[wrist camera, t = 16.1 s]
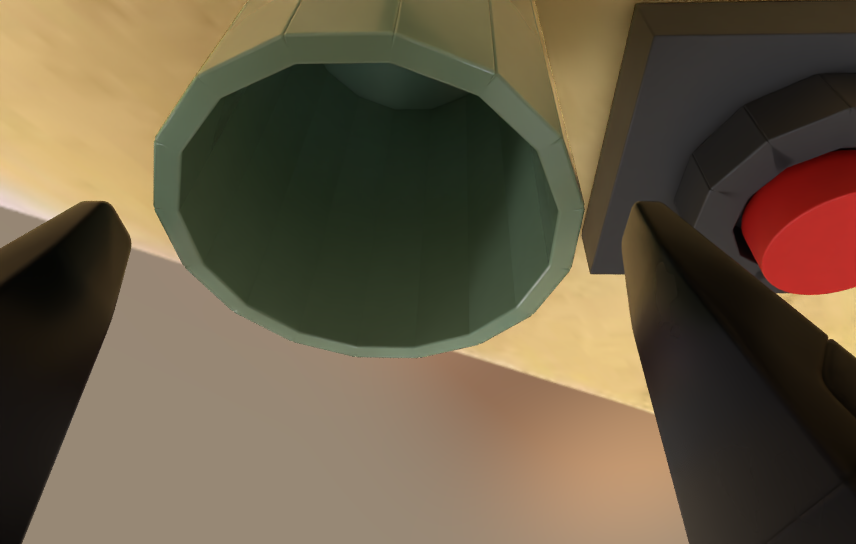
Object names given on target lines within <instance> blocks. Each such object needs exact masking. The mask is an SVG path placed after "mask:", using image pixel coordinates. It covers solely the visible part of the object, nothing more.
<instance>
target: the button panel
mask: <svg viewBox="0 0 856 544" xmlns="http://www.w3.org/2000/svg"><path fill="white" fill-rule="evenodd" d="M838 150H856V0H823V1H762V2H702V3H641V4H636V5H635V9H634V13H633V18H632V22H631V26H630V30H629V35H628V39H627V43H626V47H625V52H624V56H623V60H622V64H621V69H620V73H619V77H618V82H617V86H616V90H615V94H614V99H613V103H612V107H611V111H610V116H609V120H608V124H607V128H606V133H605V137H604V141H603V146H602V150H601V154H600V158H599V163H598V167H597V171H596V175H595V180H594V184H593V188H592V192H591V197H590V201H589V205H588V210H587V214H586V218H585V222H584V227H583V231H582V240H583V244H584V248H585V253H586V257H587V262H588V266H589V271H590V274H625V271H624V264H623V256H622V239H623V235H624V232H625V228H626V225H627V222H628V219H629V215H630V212H631V209H632V207H633V205H634V204H635V203H636V202H638V201H660V202H662V203H664V204H665V205H667V206H668V207H669V208H670V209H671V210H673V211H674V212H675V213H676V214H678V215H679V216H680V217H681V218H683V219H684V220H685V221H686V222H688V223H689V224H690V225H691V226H693V227H694V228H695V229H696V230H698V231H699V232H700V233H701V234H703V235H704V236H705V237H706V238H707V239H709V240H710V241H711V242H712V243H714V244H715V245H716V246H717V247H719V248H720V249H721V250H722V251H724V252H725V253H726V254H727V255H729V256H730V257H731V258H732V259H734V260H735V261H736V262H737V263H739V264H740V265H741V266H742V267H743V268H745V269H746V270H747V271H748V272H750V273H751V274H752V275H753V276H755V277H756V278H757V279H758V280H760V281H761V282H762V283H763V284H765V285H766V286H767V287H768V288H770V289H771V290H772V291H773V292H775V293H789V292H785V291H783V290H780V289H778V288H776V287H775V286H773V285H772V284H771V283H769V282H768V281H767V279H766V278H765V277H764V275H763V273H762V271H761V269H760V267H759V265H758V263H757V262H756V260H755V258H754V256H753V254H752V252H751V250H750V248H749V246H748V244H747V242H746V241H745V239H744V236H743V234H742V230H741V220H742V216H743V212H744V210H745V208H746V206H747V204H748V202H749V201H750V199H751V198H752V196H753V195H754V194H755V193H756V192H757V191H758V190H760V189H761V188H762V187H763V186H765V185H766V184H767V183H768V182H770V181H771V180H772V179H773V178H775V177H776V176H777V175H778V174H780V173H781V172H782V171H784V170H785V169H786V168H788V167H791V166H794V165H796V164H799V163H802V162H804V161H807V160H810V159H812V158H815V157H818V156H821V155H823V154H826V153H829V152H831V151H838Z"/></svg>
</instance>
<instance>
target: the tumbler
mask: <svg viewBox="0 0 856 544" xmlns="http://www.w3.org/2000/svg"><path fill="white" fill-rule="evenodd" d="M154 207H155V212H156V214H157V216H158V218H159V220H160V221H161V223H162V225H163V227H164V229H165V231H166V233H167V235H168V237H169V239H170V241H171V243H172V245H173V247H174V249H175V251H176V253H177V254H178V256H179V258H180V260H181V262H182V264H183V265H184V266H185V268H186V269H187V270H188V271H189V272H190V273H191V274H192V275H193V276H194V277H196V278H197V279H198V280H199V281H200V282H201V283H202V284H203V285H204V286H205V287H206V288H208V289H209V290H210V291H211V292H212V293H213V294H214V295H215V296H216V297H217V298H218V299H220V300H221V301H222V302H223V303H224V304H225V305H226V306H227V307H228V308H230V309H231V310H232V311H234V312H235V313H236V314H238V315H240V316H243V317H244V318H246V319H248V320H250V321H252V322H254V323H256V324H258V325H260V326H262V327H264V328H266V329H268V330H270V331H272V332H274V333H276V334H278V335H280V336H282V337H284V338H286V339H288V340H289V341H293V342H295V343H299V344H303V345H308V346H312V347H316V348H320V349H324V350H328V351H332V352H336V353H341V354H345V355H349V356H353V357H355V356H356V357H379V358H418V357H420V358H422V357H427V356H431V355H435V354H440V353H444V352H449V351H453V350H457V349H462V348H466V347H471V346H475V345H478V344H481V343H483V342H485V341H487V340H489V339H491V338H492V337H494V336H496V335H498V334H500V333H501V332H503V331H505V330H507V329H509V328H510V327H512V326H514V325H516V324H518V323H519V322H521V321H523V320H525V319H527V318H528V317H530V316H531V315H532V314H534V313H535V312H536V310H537V309H538V308H539V307H540V306H541V304H542V303H543V302H544V301H545V300H546V298H547V297H548V296H549V295H550V294H551V292H552V291H553V290H554V289H555V288H556V287H557V285H558V284H559V283H560V282H561V281H562V279H563V278H564V277H565V276H566V275H567V273H568V272H569V271H570V268H571V267H572V263H573V258H574V254H575V250H576V245H577V241H578V236H579V232H580V228H581V223H582V219H583V214H584V210H585V209H584V201H583V197H582V192H581V188H580V184H579V180H578V176H577V172H576V168H575V164H574V160H573V155H572V151H571V147H570V143H569V139H568V135H567V131H566V127H565V123H564V118H563V114H562V110H561V106H560V102H559V98H558V94H557V90H556V86H555V81H554V77H553V73H552V69H551V65H550V61H549V57H548V53H547V49H546V44H545V40H544V36H543V32H542V28H541V24H540V20H539V16H538V12H537V7H536V3H535V0H248V1H247V3H246V4H245V5H244V7H243V8H242V10H241V11H240V13H239V14H238V15H237V17H236V18H235V20H234V21H233V23H232V24H231V25H230V27H229V28H228V30H227V31H226V33H225V34H224V35H223V37H222V38H221V40H220V41H219V43H218V44H217V45H216V47H215V48H214V50H213V51H212V53H211V54H210V55H209V57H208V58H207V60H206V61H205V63H204V64H203V65H202V67H201V68H200V70H199V71H198V73H197V74H196V75H195V77H194V78H193V80H192V81H191V83H190V85H189V86H188V88H187V89H186V91H185V92H184V94H183V95H182V97H181V98H180V100H179V101H178V103H177V104H176V106H175V107H174V109H173V110H172V112H171V113H170V115H169V116H168V118H167V119H166V121H165V122H164V124H163V125H162V127H161V128H160V130H159V132H158V133H157V135H156V136H155V140H154Z"/></svg>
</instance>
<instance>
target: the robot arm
mask: <svg viewBox="0 0 856 544" xmlns="http://www.w3.org/2000/svg"><path fill="white" fill-rule="evenodd" d="M130 251H131V239H130V235H129V233H128V232H127V230H126V228H125V226H124V225H123V223H122V221H121V220H120V218H119V216H118V214H117V213H116V211H115V209H114V208H113V206H112V205H111V204H109V203H108V202H105V201H83V202H80V203H78V204H77V205H75V206H73V207H71V208H70V209H68V210H66V211H64V212H63V213H61V214H59V215H57V216H56V217H54V218H52V219H50V220H49V221H47V222H45V223H44V224H42V225H40V226H38V227H37V228H35V229H33V230H31V231H30V232H28V233H26V234H24V235H23V236H21V237H19V238H17V239H16V240H14V241H12V242H10V243H9V244H7V245H5V246H3V247H2V248H0V544H22V542H23V539H24V537H25V534H26V532H27V530H28V527H29V525H30V522H31V519H32V517H33V515H34V512H35V509H36V507H37V504H38V502H39V500H40V497H41V495H42V492H43V490H44V487H45V485H46V482H47V480H48V477H49V475H50V472H51V470H52V467H53V465H54V463H55V460H56V457H57V455H58V453H59V450H60V447H61V445H62V443H63V440H64V438H65V435H66V433H67V430H68V428H69V425H70V423H71V420H72V418H73V415H74V413H75V410H76V408H77V405H78V403H79V400H80V398H81V395H82V393H83V390H84V388H85V386H86V383H87V381H88V378H89V375H90V373H91V371H92V368H93V366H94V363H95V361H96V358H97V356H98V353H99V350H100V348H101V346H102V343H103V341H104V338H105V336H106V333H107V330H108V328H109V325H110V322H111V320H112V316H113V313H114V310H115V306H116V303H117V299H118V295H119V292H120V288H121V284H122V280H123V277H124V273H125V269H126V266H127V262H128V258H129V255H130ZM622 256H623V264H624V271H625V279H626V287H627V294H628V302H629V310H630V317H631V323H632V329H633V333H634V337H635V341H636V345H637V349H638V353H639V356H640V360H641V364H642V368H643V372H644V375H645V379H646V383H647V387H648V390H649V394H650V398H651V402H652V405H653V409H654V413H655V417H656V420H657V424H658V428H659V432H660V436H661V439H662V443H663V447H664V451H665V454H666V457H667V462H668V466H669V469H670V473H671V477H672V480H673V485H674V488H675V492H676V496H677V500H678V503H679V507H680V511H681V515H682V518H683V521H684V526H685V530H686V533H687V537H688V541H689V544H856V357H854V356H853V355H852V354H851V353H849V352H848V351H847V350H846V349H844V348H843V347H842V346H841V345H839V344H838V343H837V342H836V341H834V340H833V339H829V340H828V335H827V334H825V333H824V332H823V331H822V330H820V329H819V328H818V327H817V326H815V325H814V324H813V323H812V322H811V321H809V320H808V319H807V318H806V317H804V316H803V315H802V314H801V313H799V312H798V311H797V310H796V309H794V308H793V307H792V306H791V305H789V304H788V303H787V302H786V301H784V300H783V299H782V298H781V297H779V296H778V295H777V294H776V293H775V292H773V291H772V290H771V289H770V288H768V287H767V286H766V285H765V284H763V283H762V282H761V281H760V280H758V279H757V278H756V277H755V276H753V275H752V274H751V273H750V272H748V271H747V270H746V269H745V268H743V267H742V266H741V265H740V264H739V263H737V262H736V261H735V260H734V259H732V258H731V257H730V256H729V255H727V254H726V253H725V252H724V251H722V250H721V249H720V248H719V247H717V246H716V245H715V244H714V243H712V242H711V241H710V240H709V239H707V238H706V237H705V236H704V235H703V234H701V233H700V232H699V231H698V230H696V229H695V228H694V227H693V226H691V225H690V224H689V223H688V222H686V221H685V220H684V219H683V218H681V217H680V216H679V215H678V214H676V213H675V212H674V211H673V210H671V209H670V208H669V207H668V206H667V205H665V204H664V203H662V202H660V201H638V202H636V203H635V204H634V205H633V207H632V209H631V212H630V215H629V219H628V222H627V225H626V228H625V232H624V235H623V239H622Z"/></svg>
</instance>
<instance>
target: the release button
mask: <svg viewBox="0 0 856 544" xmlns="http://www.w3.org/2000/svg"><path fill="white" fill-rule="evenodd" d="M741 230H742V234H743V236H744V239H745V241H746V242H747V244H748V246H749V248H750V250H751V252H752V254H753V256H754V258H755V260H756V262H757V263H758V265H759V267H760V269H761V271H762V273H763V275H764V277H765V278H766V279H767V281H768V282H769V283H771V284H772V285H773V286H775V287H776V288H778V289H780V290H783V291H785V292H789V293H794V294H801V295H819V294H828V293H834V292H839V291H843V290H847V289H850V288H853V287H856V150H838V151H831V152H829V153H826V154H823V155H821V156H818V157H815V158H812V159H810V160H807V161H804V162H802V163H799V164H796V165H794V166H791V167H788V168H786V169H785V170H784V171H782V172H781V173H780V174H778V175H777V176H776V177H775V178H773V179H772V180H771V181H770V182H768V183H767V184H766V185H765V186H763V187H762V188H761V189H760V190H758V191H757V192H756V193H755V194H754V195H753V196H752V198H751V199H750V201H749V202H748V204H747V206H746V208H745V210H744V212H743V216H742V220H741Z"/></svg>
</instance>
